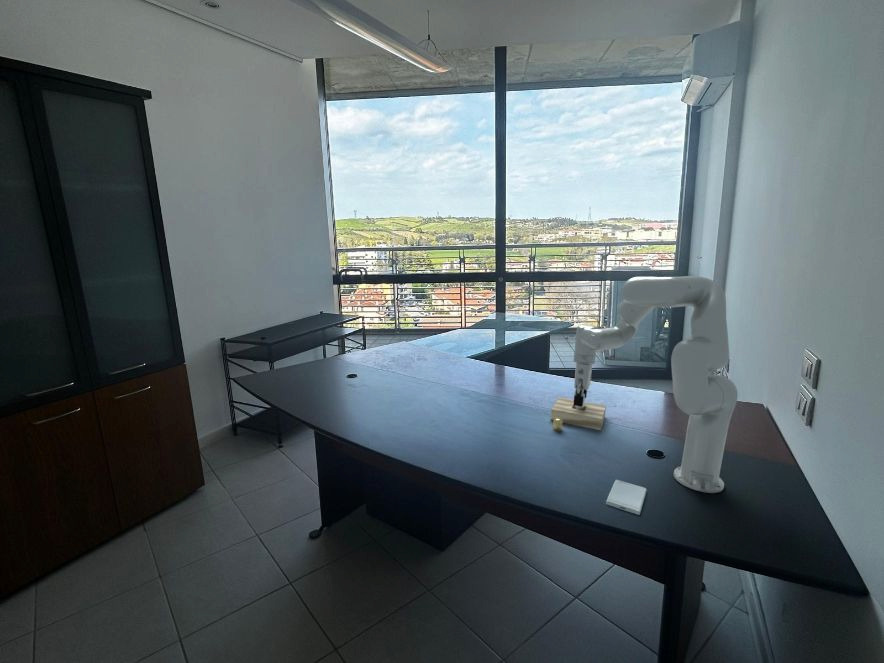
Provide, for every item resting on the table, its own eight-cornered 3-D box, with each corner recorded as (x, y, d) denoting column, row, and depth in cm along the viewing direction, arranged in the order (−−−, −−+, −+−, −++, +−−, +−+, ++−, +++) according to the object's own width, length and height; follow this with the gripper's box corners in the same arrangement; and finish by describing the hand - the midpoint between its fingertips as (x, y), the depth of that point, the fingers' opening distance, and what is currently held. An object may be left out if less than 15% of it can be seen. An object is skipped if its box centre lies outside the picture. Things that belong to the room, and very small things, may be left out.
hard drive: (615, 479, 124) (606, 500, 114) (646, 488, 120) (640, 511, 110) (614, 484, 125) (605, 506, 114) (646, 493, 121) (639, 517, 110)
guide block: (600, 430, 158) (602, 418, 157) (550, 420, 165) (551, 408, 164) (604, 416, 170) (606, 405, 169) (557, 407, 178) (558, 397, 177)
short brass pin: (561, 432, 156) (562, 421, 155) (551, 430, 157) (552, 419, 156) (562, 428, 158) (563, 418, 157) (553, 426, 160) (554, 416, 159)
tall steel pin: (581, 420, 166) (584, 395, 164) (573, 419, 167) (575, 394, 165) (583, 417, 169) (585, 393, 166) (574, 416, 170) (576, 391, 168)
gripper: (591, 365, 153) (587, 411, 157) (597, 354, 169) (593, 396, 172) (569, 362, 157) (565, 407, 160) (577, 351, 172) (573, 392, 176)
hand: (579, 401), depth 166 cm, fingers open, 9 cm apart
